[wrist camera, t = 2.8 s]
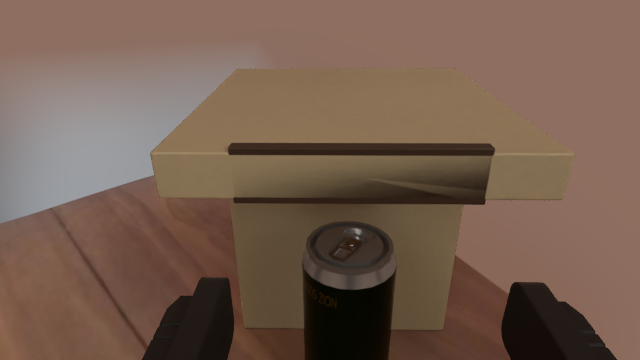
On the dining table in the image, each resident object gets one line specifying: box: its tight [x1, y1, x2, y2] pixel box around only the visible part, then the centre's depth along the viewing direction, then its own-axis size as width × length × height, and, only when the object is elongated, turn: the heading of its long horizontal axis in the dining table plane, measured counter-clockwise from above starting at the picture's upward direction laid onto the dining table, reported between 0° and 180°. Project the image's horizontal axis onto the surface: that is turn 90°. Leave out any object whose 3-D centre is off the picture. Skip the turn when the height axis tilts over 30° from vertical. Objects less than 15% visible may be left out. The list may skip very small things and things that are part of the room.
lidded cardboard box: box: [151, 69, 575, 330], centre depth 29 cm, size 20×16×20 cm
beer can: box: [302, 221, 397, 360], centre depth 26 cm, size 5×5×12 cm
